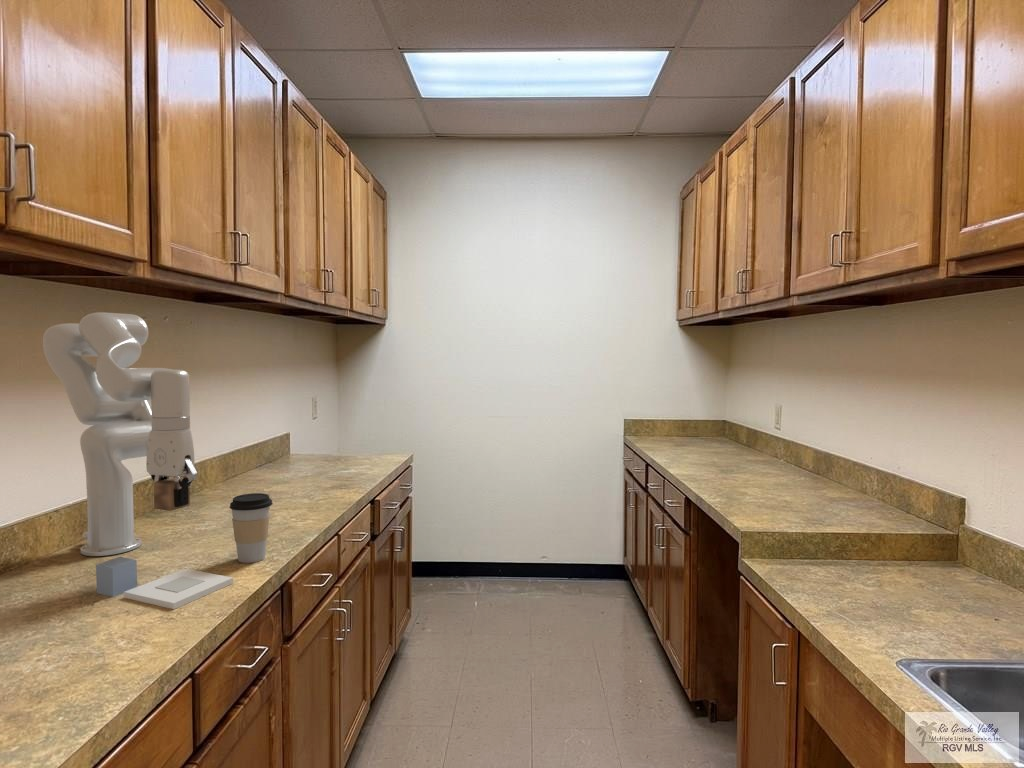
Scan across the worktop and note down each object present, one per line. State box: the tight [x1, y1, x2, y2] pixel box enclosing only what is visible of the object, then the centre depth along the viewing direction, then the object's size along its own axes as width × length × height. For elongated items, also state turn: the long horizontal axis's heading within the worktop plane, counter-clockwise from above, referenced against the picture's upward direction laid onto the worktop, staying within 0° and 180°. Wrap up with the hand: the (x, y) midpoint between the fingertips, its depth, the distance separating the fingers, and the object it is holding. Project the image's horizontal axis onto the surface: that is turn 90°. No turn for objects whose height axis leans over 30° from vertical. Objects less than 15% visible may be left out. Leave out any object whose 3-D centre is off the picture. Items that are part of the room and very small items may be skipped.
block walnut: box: [153, 477, 191, 512], centre depth 132 cm, size 5×5×6 cm
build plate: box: [123, 568, 234, 610], centre depth 121 cm, size 14×14×1 cm
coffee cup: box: [229, 492, 273, 564], centre depth 140 cm, size 9×9×15 cm
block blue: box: [95, 556, 138, 598], centre depth 121 cm, size 5×5×6 cm
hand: (172, 503), depth 132 cm, fingers closed on block walnut, 5 cm apart
